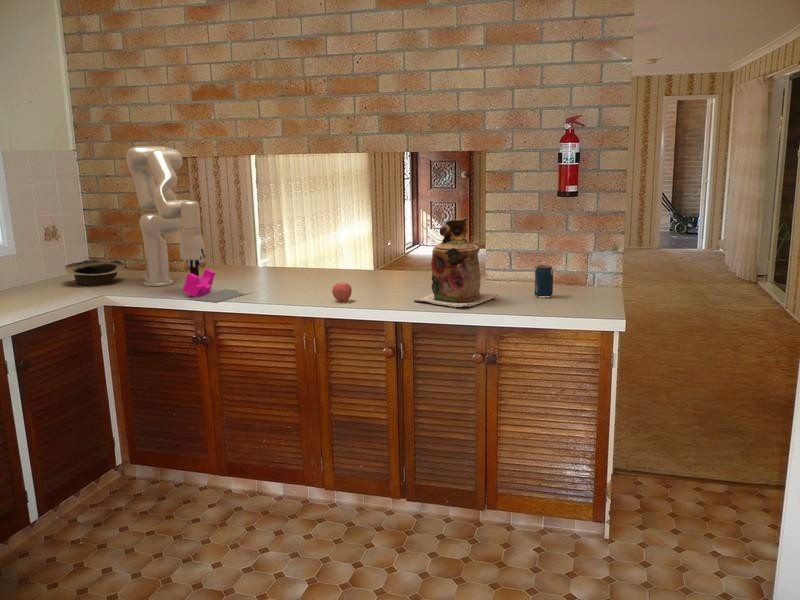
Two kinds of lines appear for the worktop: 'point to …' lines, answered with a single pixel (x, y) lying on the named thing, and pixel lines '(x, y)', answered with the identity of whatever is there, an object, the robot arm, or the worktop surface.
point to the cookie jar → (455, 269)
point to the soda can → (544, 280)
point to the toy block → (199, 283)
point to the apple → (342, 291)
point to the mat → (218, 296)
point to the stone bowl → (94, 271)
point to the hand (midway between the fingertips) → (194, 276)
